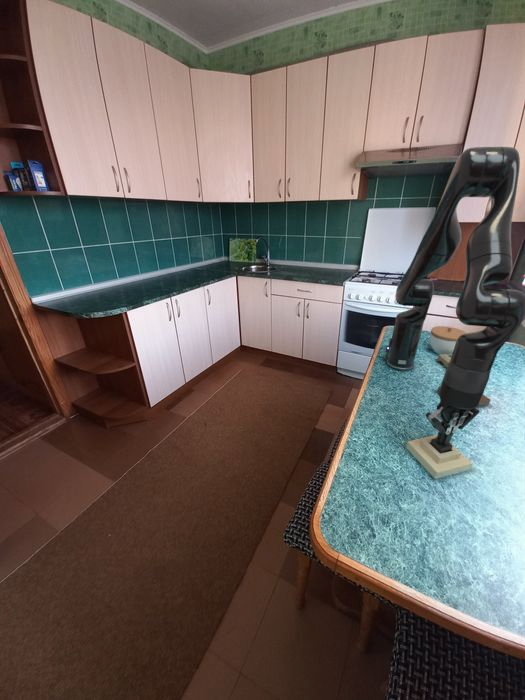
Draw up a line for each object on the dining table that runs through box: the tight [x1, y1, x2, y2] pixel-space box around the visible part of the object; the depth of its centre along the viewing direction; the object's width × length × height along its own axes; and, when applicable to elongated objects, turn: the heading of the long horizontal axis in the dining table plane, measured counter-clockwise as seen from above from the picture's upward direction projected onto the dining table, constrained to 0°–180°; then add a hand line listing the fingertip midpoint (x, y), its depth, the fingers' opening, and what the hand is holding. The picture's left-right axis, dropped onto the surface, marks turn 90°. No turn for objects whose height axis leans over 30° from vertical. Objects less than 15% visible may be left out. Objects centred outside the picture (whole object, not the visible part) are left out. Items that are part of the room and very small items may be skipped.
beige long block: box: [436, 354, 452, 369], centre depth 107 cm, size 16×8×3 cm, turn 3°
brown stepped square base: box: [436, 386, 492, 409], centre depth 92 cm, size 10×10×4 cm
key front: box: [430, 438, 454, 454], centre depth 70 cm, size 3×3×2 cm
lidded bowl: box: [429, 325, 466, 356], centre depth 119 cm, size 13×13×11 cm
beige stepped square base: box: [405, 434, 474, 480], centre depth 71 cm, size 10×10×4 cm
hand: (442, 442), depth 69 cm, fingers closed
